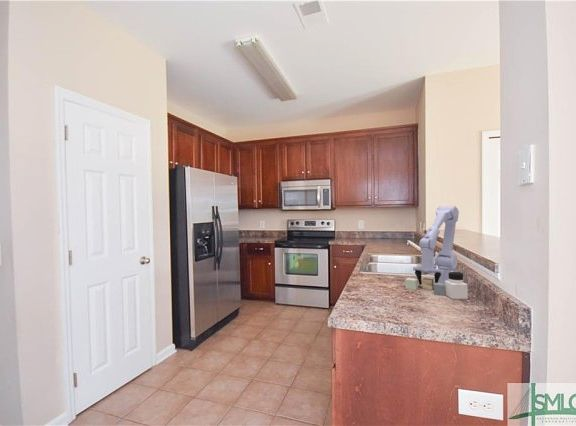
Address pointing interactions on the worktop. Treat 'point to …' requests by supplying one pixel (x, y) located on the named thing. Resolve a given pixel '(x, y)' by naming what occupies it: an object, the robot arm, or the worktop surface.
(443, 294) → the slate block
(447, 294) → the medicine bottle
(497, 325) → the worktop surface
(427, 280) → the maple block
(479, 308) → the worktop surface
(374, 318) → the worktop surface
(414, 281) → the sage block
